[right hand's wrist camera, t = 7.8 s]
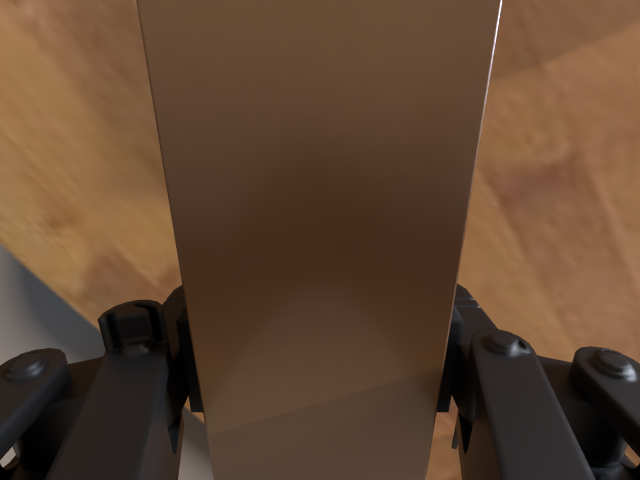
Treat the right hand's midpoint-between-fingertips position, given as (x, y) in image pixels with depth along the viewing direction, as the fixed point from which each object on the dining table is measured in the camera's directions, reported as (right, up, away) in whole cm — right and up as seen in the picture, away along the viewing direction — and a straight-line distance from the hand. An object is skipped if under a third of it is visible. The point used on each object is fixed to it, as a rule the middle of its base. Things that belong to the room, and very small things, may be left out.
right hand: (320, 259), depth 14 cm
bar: (0, +21, -8) cm, 23 cm away
